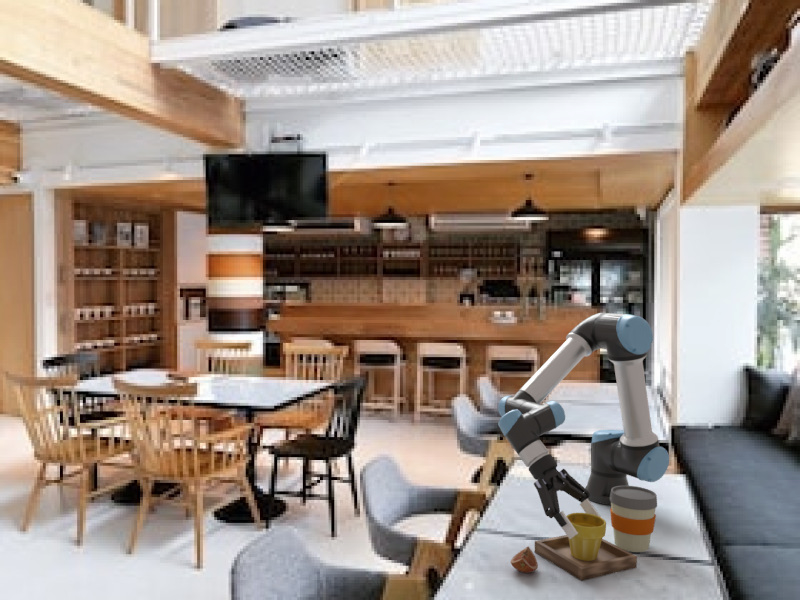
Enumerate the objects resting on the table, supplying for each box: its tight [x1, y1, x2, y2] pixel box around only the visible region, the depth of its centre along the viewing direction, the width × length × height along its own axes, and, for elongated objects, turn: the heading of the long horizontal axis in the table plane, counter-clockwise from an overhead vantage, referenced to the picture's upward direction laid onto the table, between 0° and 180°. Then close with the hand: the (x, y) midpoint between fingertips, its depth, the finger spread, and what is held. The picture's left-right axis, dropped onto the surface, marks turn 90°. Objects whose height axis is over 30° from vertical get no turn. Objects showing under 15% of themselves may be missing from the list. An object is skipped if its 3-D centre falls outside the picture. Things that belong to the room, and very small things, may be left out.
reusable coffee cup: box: [609, 485, 658, 553], centre depth 184 cm, size 13×13×15 cm
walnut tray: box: [534, 534, 638, 582], centre depth 173 cm, size 18×18×3 cm
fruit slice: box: [510, 546, 539, 574], centre depth 166 cm, size 8×7×5 cm
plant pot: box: [566, 512, 607, 561], centre depth 173 cm, size 10×10×10 cm
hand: (586, 529), depth 173 cm, fingers open, 13 cm apart
